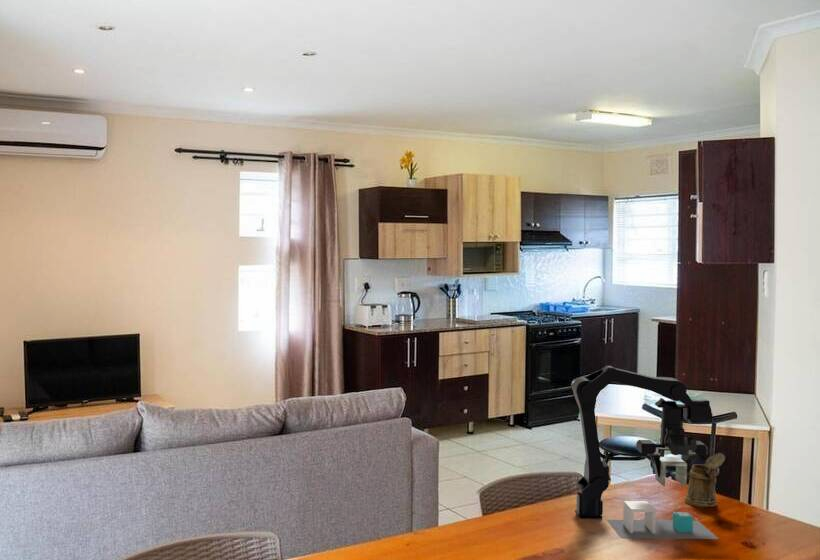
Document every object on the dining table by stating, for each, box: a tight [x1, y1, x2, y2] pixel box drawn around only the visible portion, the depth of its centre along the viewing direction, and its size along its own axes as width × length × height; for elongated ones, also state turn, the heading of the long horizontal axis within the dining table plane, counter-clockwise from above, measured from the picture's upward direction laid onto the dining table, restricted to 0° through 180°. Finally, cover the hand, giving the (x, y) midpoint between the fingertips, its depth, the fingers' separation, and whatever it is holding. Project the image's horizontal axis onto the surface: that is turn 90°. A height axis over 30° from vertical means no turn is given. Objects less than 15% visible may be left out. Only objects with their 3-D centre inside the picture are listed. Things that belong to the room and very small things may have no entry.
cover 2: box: [654, 456, 688, 487], centre depth 216 cm, size 7×7×6 cm
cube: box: [672, 511, 694, 532], centre depth 207 cm, size 4×4×4 cm
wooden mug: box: [684, 451, 726, 508], centre depth 228 cm, size 9×14×18 cm, turn 10°
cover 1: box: [622, 500, 657, 533], centre depth 206 cm, size 7×7×6 cm
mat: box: [606, 519, 719, 540], centre depth 207 cm, size 26×14×1 cm, turn 91°
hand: (670, 477), depth 216 cm, fingers closed on cover 2, 7 cm apart
